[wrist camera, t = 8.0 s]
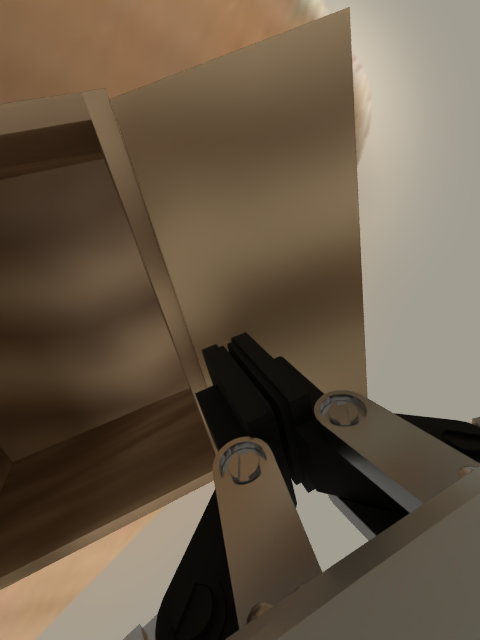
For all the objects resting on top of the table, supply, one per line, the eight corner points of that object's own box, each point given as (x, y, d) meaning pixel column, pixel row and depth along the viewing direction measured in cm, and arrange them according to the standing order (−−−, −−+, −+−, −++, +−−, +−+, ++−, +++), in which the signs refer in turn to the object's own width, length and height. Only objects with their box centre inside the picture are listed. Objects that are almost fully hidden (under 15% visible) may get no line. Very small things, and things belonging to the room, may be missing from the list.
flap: (349, 7, 8) (347, 15, 8) (109, 99, 10) (118, 101, 11) (370, 476, 16) (369, 467, 16) (235, 468, 18) (237, 461, 19)
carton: (-205, 205, 15) (-654, 200, 6) (111, 144, 19) (105, 88, 10) (10, 465, 23) (-54, 617, 15) (198, 386, 27) (235, 469, 19)
